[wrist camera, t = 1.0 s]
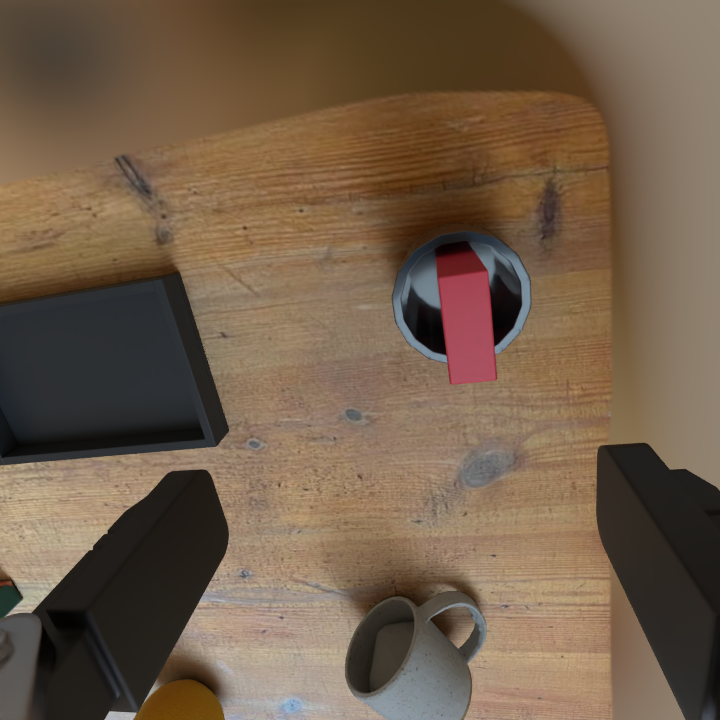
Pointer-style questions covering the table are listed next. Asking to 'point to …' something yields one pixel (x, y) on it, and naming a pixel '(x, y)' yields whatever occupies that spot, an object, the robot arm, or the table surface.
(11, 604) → the crayon box
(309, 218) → the table surface
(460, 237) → the cup
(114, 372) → the tray
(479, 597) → the table surface
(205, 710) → the fruit
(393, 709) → the ceramic mug
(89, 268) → the table surface
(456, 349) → the block
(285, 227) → the table surface
